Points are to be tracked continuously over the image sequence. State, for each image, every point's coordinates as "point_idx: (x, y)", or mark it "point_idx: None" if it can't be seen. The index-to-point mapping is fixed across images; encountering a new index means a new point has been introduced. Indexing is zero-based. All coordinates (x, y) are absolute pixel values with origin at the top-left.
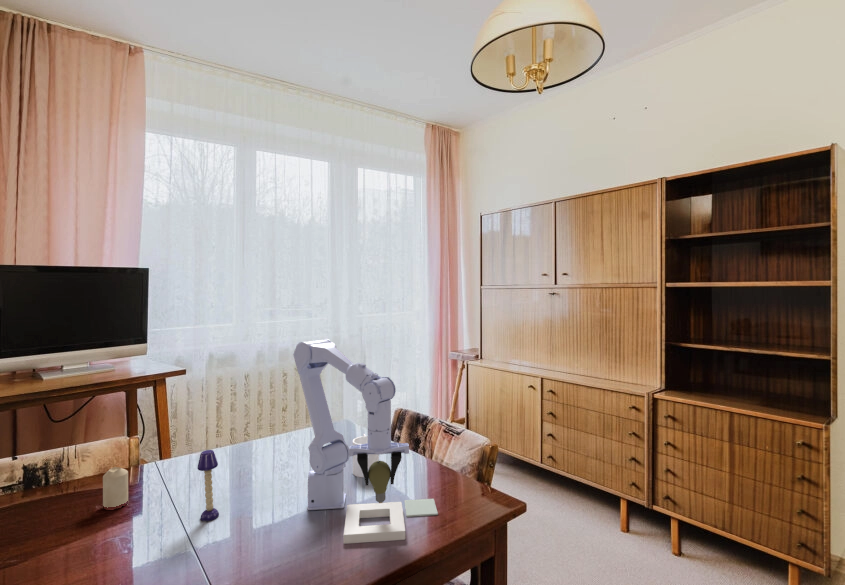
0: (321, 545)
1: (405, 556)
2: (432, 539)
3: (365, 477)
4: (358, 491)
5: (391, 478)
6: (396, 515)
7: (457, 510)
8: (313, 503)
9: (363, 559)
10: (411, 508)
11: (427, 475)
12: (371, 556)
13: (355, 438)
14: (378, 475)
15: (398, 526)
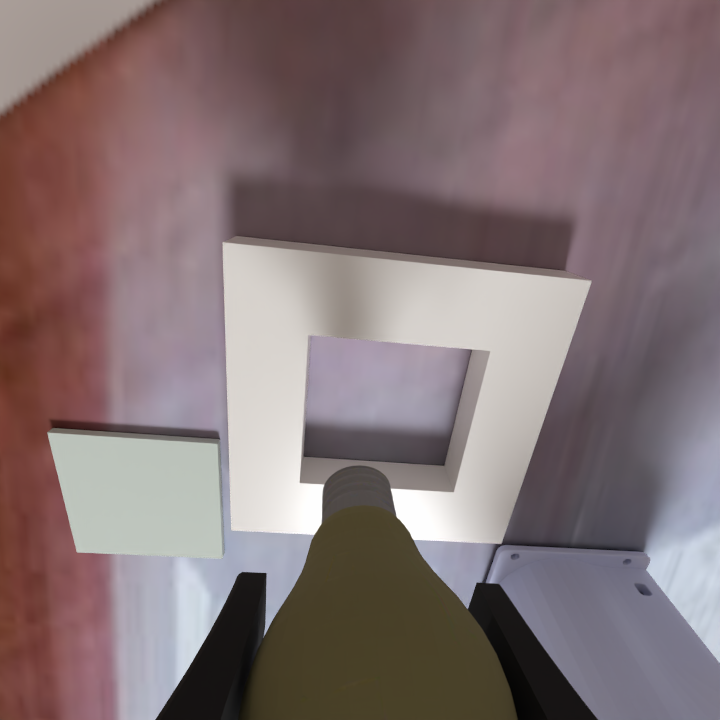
0: (670, 281)
1: (245, 48)
2: (74, 202)
3: (546, 665)
4: None
5: (244, 628)
6: (267, 415)
7: None
8: (632, 579)
9: (497, 83)
10: (190, 493)
11: (116, 704)
12: (447, 105)
13: None
14: (415, 671)
15: (263, 302)
